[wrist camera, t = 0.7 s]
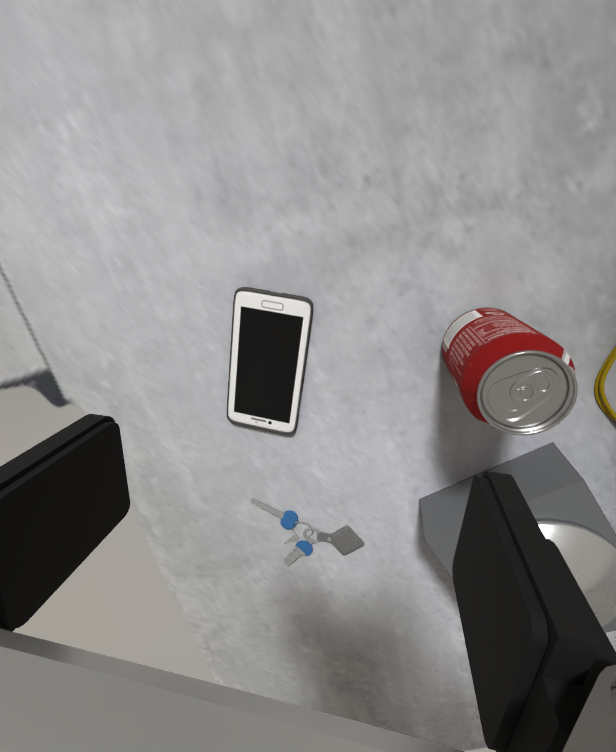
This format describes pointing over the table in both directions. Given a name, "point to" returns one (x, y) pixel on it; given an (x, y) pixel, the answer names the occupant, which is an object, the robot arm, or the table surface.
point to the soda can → (509, 372)
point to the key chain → (340, 539)
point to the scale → (541, 491)
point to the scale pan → (587, 563)
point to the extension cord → (600, 385)
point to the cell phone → (268, 359)
